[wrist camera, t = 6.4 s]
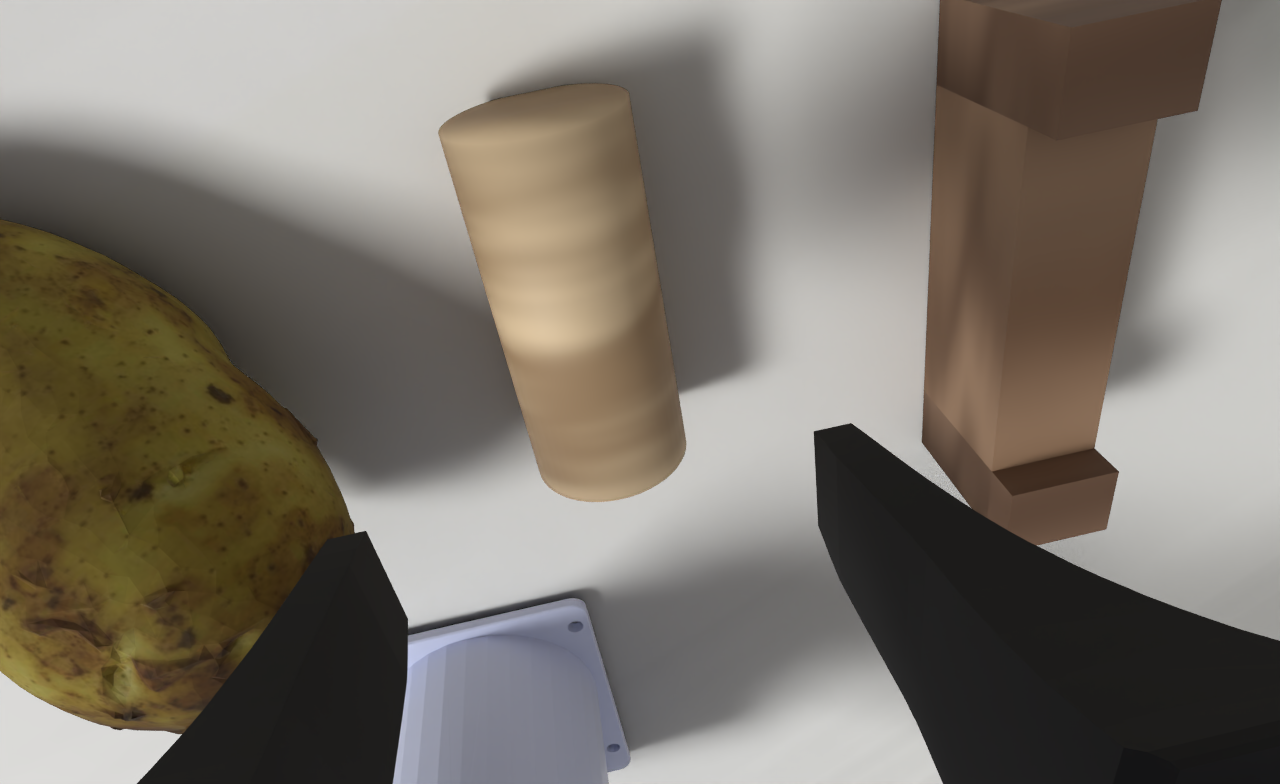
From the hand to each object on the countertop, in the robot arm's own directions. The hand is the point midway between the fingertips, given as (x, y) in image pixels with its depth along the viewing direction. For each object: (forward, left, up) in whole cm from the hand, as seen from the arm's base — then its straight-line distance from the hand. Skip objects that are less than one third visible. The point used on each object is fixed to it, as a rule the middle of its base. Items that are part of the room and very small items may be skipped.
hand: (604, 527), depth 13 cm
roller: (0, 0, -10) cm, 10 cm away
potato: (0, +11, -10) cm, 15 cm away
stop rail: (-1, -11, -9) cm, 15 cm away
